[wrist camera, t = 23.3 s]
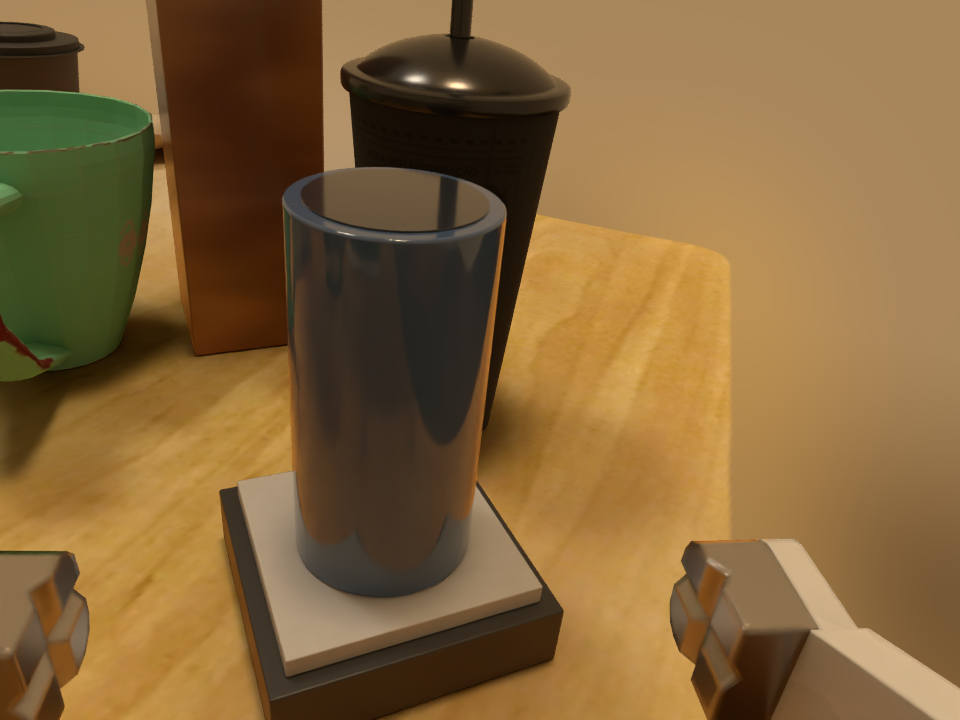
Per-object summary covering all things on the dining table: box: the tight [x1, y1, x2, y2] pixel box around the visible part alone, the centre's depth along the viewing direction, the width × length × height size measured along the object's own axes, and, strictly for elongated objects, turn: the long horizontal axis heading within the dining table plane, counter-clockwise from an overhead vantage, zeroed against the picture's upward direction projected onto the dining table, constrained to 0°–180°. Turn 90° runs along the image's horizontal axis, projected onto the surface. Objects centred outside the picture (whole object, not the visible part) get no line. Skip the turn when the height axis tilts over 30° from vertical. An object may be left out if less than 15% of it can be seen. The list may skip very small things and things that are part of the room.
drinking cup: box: [340, 0, 571, 432], centre depth 27 cm, size 8×8×20 cm
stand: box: [146, 0, 324, 355], centre depth 32 cm, size 6×6×24 cm
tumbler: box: [282, 167, 507, 598], centre depth 19 cm, size 5×5×10 cm
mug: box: [0, 90, 155, 381], centre depth 30 cm, size 15×10×10 cm
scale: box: [219, 471, 564, 720], centre depth 23 cm, size 8×8×3 cm
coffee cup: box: [0, 22, 84, 93], centre depth 48 cm, size 8×8×10 cm
